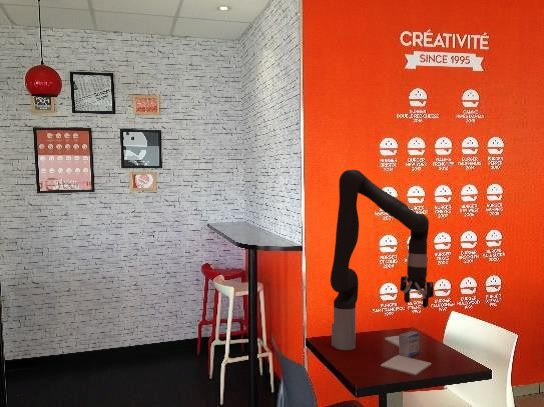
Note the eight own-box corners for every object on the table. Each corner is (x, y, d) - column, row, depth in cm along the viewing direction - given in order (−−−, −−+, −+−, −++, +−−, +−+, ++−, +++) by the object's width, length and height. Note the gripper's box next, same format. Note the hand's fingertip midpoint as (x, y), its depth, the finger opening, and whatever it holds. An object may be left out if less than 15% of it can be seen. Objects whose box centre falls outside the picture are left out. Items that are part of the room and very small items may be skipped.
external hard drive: (401, 349, 209) (384, 340, 221) (417, 347, 212) (400, 338, 224) (401, 346, 209) (384, 337, 221) (417, 343, 212) (400, 335, 224)
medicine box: (408, 358, 198) (408, 336, 198) (398, 355, 202) (398, 334, 201) (419, 353, 203) (419, 332, 203) (409, 350, 207) (409, 330, 206)
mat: (380, 366, 190) (380, 364, 190) (397, 356, 200) (397, 354, 200) (415, 375, 181) (415, 374, 181) (431, 364, 191) (431, 363, 191)
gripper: (396, 262, 200) (395, 302, 201) (426, 268, 189) (425, 310, 190) (408, 260, 205) (407, 299, 206) (438, 266, 193) (437, 307, 194)
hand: (415, 304), depth 198 cm, fingers open, 8 cm apart
